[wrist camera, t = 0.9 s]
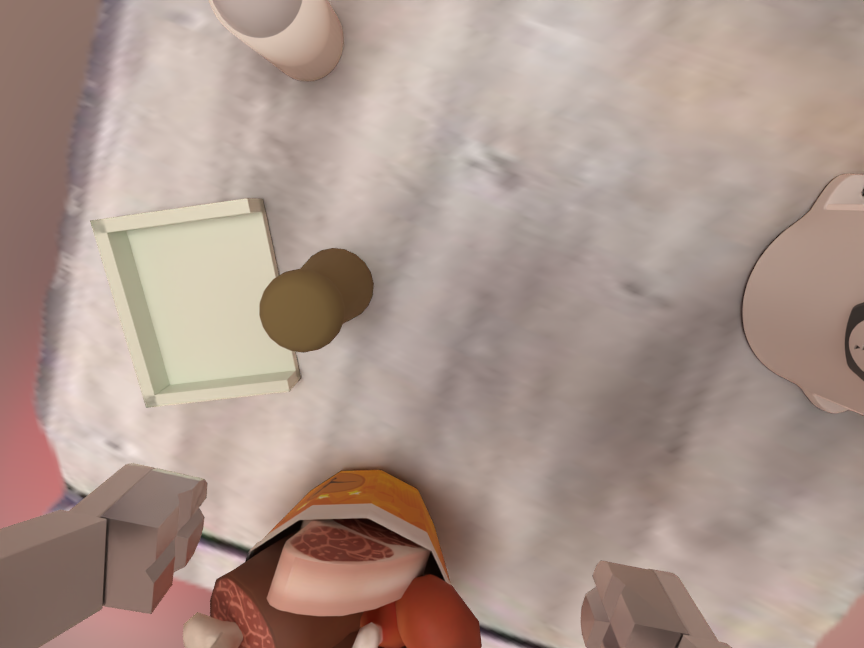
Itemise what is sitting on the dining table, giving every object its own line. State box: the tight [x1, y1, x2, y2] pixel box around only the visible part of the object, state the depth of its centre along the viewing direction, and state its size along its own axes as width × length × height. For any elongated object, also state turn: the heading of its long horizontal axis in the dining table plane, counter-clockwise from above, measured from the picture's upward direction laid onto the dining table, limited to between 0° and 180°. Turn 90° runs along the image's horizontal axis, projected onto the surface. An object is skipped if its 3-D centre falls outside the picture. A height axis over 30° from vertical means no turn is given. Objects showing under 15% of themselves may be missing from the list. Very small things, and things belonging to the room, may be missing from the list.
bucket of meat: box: [183, 470, 482, 648], centre depth 35 cm, size 20×16×20 cm
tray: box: [90, 198, 301, 408], centre depth 38 cm, size 12×15×3 cm
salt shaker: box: [209, 0, 344, 81], centre depth 29 cm, size 6×6×11 cm
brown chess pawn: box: [259, 248, 373, 352], centre depth 34 cm, size 6×6×11 cm
